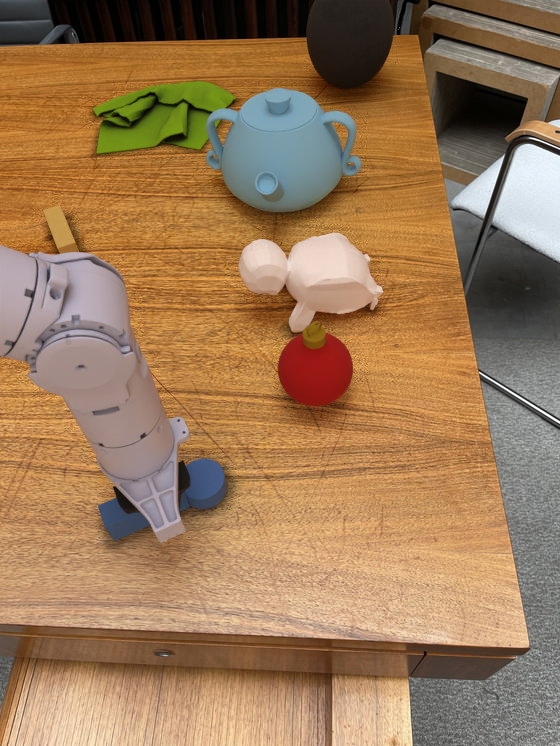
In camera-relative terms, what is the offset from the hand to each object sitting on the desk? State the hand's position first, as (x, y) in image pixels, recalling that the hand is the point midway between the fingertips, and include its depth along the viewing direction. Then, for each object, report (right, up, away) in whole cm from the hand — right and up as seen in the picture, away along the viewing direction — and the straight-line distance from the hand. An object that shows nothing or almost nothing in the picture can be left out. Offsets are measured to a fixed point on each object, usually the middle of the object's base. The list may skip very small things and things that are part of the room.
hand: (161, 499), depth 55 cm
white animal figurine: (+14, +19, +15) cm, 28 cm away
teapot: (+10, +33, +26) cm, 44 cm away
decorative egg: (+21, +55, +42) cm, 72 cm away
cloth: (-8, +49, +40) cm, 63 cm away
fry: (-16, +27, +24) cm, 40 cm away
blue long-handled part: (0, -1, +1) cm, 1 cm away
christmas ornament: (+14, +9, +8) cm, 18 cm away
